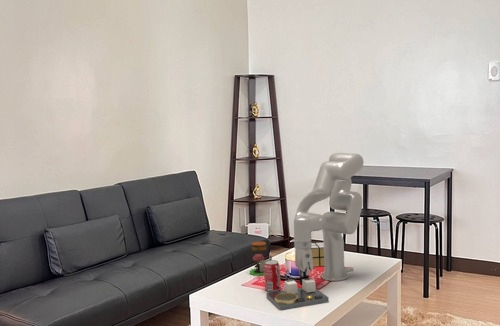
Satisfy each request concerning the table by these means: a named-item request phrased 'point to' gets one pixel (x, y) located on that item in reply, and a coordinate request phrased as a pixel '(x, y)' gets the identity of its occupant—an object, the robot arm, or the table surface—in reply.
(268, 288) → the soda can
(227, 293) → the table surface
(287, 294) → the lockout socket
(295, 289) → the block
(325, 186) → the robot arm
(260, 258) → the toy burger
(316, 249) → the puzzle cube
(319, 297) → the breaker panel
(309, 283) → the block
